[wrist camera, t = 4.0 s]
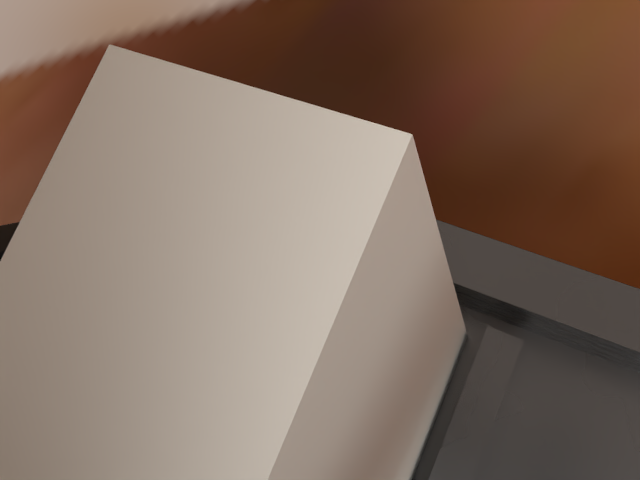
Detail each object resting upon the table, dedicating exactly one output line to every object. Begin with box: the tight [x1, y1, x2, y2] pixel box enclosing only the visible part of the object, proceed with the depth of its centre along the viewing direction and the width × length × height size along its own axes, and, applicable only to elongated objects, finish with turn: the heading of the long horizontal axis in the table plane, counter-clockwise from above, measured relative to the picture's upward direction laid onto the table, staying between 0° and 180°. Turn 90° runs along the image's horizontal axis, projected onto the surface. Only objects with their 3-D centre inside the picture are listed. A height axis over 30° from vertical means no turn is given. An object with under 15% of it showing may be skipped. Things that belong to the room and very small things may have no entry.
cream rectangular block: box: [0, 44, 468, 480], centre depth 9 cm, size 4×2×12 cm, turn 156°
